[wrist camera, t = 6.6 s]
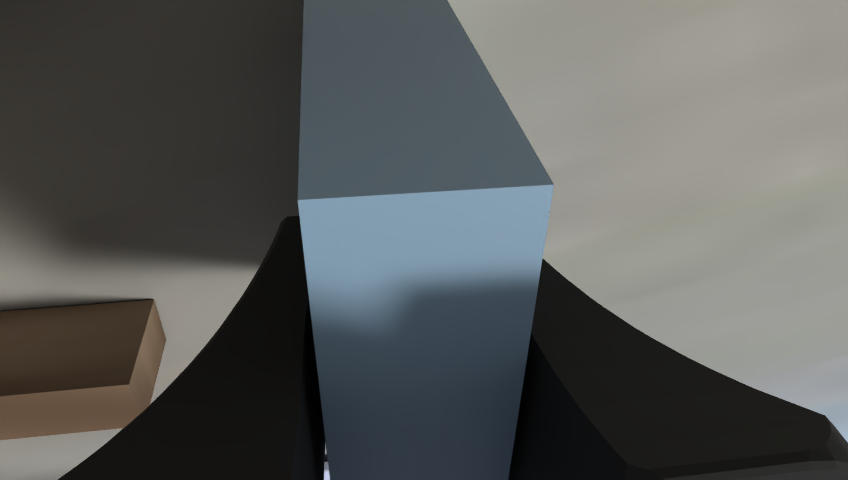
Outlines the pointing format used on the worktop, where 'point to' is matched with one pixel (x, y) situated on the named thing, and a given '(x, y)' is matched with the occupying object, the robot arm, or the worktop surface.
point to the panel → (415, 242)
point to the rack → (77, 367)
